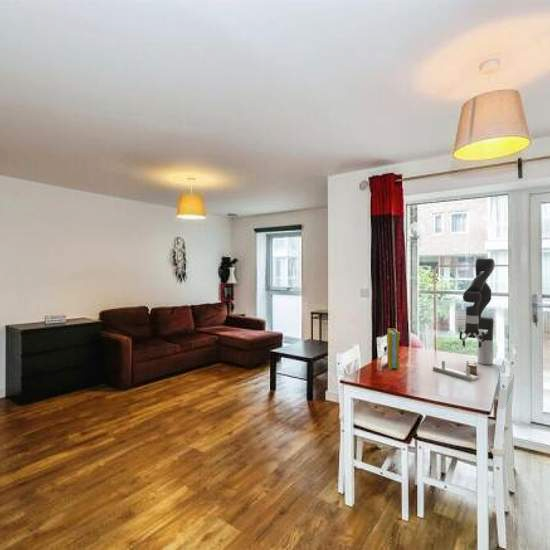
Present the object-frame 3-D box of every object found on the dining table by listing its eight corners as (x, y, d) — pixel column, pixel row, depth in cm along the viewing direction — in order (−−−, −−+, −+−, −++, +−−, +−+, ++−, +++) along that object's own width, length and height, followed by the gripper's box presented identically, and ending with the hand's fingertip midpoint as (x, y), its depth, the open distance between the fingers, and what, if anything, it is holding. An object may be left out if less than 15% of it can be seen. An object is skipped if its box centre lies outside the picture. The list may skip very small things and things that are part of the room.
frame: (466, 369, 234) (466, 360, 234) (475, 370, 232) (475, 361, 232) (467, 374, 223) (467, 365, 223) (476, 375, 221) (476, 366, 221)
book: (399, 369, 234) (399, 333, 233) (389, 369, 235) (389, 332, 235) (396, 362, 251) (396, 328, 250) (386, 362, 252) (386, 328, 251)
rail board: (440, 368, 237) (440, 358, 237) (478, 378, 214) (478, 368, 214) (432, 370, 233) (433, 360, 233) (470, 381, 210) (470, 370, 210)
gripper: (459, 322, 226) (459, 347, 227) (485, 323, 220) (485, 349, 220) (459, 320, 233) (459, 344, 233) (484, 322, 227) (483, 346, 227)
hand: (471, 346), depth 227 cm, fingers open, 8 cm apart
